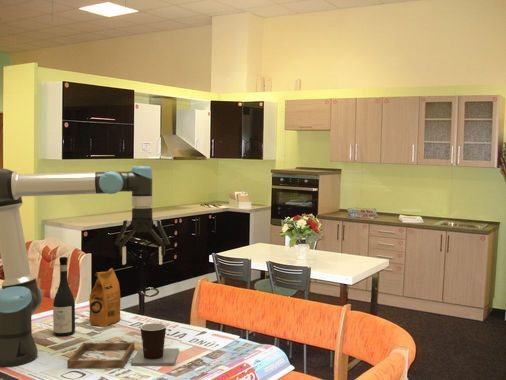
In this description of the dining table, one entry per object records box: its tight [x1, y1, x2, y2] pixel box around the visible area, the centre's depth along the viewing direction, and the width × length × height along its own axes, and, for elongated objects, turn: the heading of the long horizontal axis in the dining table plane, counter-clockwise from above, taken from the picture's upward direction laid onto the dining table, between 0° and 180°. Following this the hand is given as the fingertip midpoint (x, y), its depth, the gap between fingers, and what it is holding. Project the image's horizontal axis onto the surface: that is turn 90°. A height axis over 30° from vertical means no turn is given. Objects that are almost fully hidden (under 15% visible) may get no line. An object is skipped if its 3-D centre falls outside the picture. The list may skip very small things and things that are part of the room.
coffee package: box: [88, 267, 121, 328], centre depth 225 cm, size 10×12×22 cm
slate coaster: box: [130, 347, 180, 367], centre depth 183 cm, size 14×14×1 cm
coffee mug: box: [140, 322, 167, 359], centre depth 184 cm, size 12×9×10 cm
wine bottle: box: [52, 256, 76, 337], centre depth 210 cm, size 8×8×30 cm
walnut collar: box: [66, 342, 136, 369], centre depth 183 cm, size 18×18×2 cm
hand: (142, 264), depth 202 cm, fingers open, 13 cm apart
